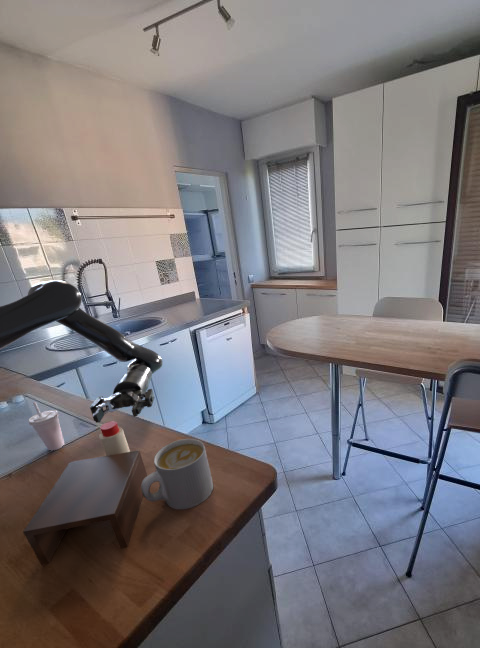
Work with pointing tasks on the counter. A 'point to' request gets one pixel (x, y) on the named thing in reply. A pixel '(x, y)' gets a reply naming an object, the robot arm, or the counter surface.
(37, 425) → the smoothie
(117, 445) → the spice bottle
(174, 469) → the coffee mug
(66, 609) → the counter surface
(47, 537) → the shelf
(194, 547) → the counter surface
